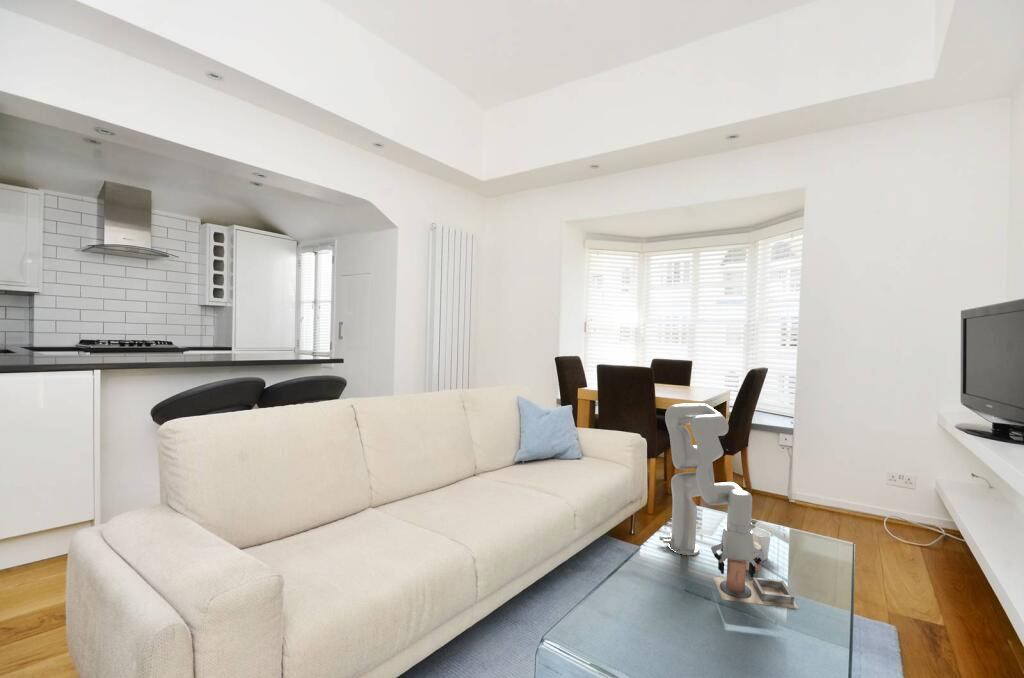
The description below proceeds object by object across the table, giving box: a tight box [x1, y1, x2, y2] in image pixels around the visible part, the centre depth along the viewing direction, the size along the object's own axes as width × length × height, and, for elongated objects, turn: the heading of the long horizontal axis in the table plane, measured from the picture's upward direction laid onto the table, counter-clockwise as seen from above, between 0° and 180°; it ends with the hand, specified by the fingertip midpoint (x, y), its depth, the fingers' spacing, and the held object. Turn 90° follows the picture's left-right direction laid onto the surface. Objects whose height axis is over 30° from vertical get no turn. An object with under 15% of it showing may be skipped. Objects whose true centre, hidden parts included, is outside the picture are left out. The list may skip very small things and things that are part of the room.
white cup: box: [751, 527, 772, 561], centre depth 195 cm, size 8×8×10 cm
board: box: [712, 576, 800, 610], centre depth 169 cm, size 24×14×4 cm, turn 80°
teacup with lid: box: [745, 542, 762, 572], centre depth 187 cm, size 12×9×12 cm
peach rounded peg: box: [725, 558, 747, 593], centre depth 169 cm, size 8×6×10 cm
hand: (736, 573), depth 170 cm, fingers open, 9 cm apart
